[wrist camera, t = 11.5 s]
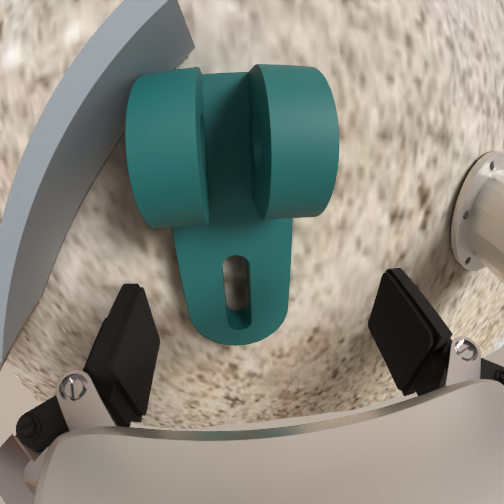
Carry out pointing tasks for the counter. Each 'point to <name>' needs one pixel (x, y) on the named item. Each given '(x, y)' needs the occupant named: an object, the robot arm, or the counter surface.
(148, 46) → the door
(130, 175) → the bracket
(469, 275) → the counter surface
